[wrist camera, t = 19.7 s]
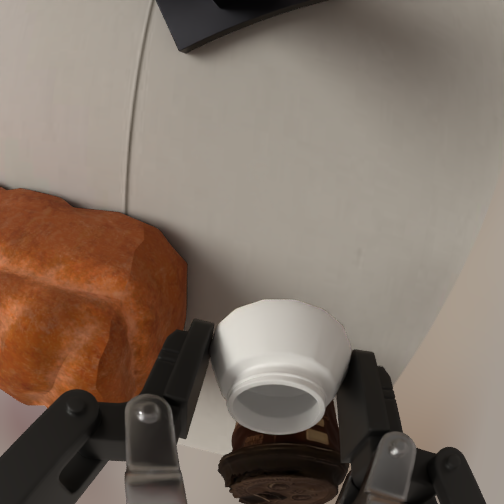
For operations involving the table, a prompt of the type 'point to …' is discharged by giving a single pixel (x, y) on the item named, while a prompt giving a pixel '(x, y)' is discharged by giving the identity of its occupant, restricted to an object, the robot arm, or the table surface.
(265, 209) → the table surface
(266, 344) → the white jar
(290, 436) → the coffee cup
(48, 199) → the bread
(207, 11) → the bracket
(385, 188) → the table surface
